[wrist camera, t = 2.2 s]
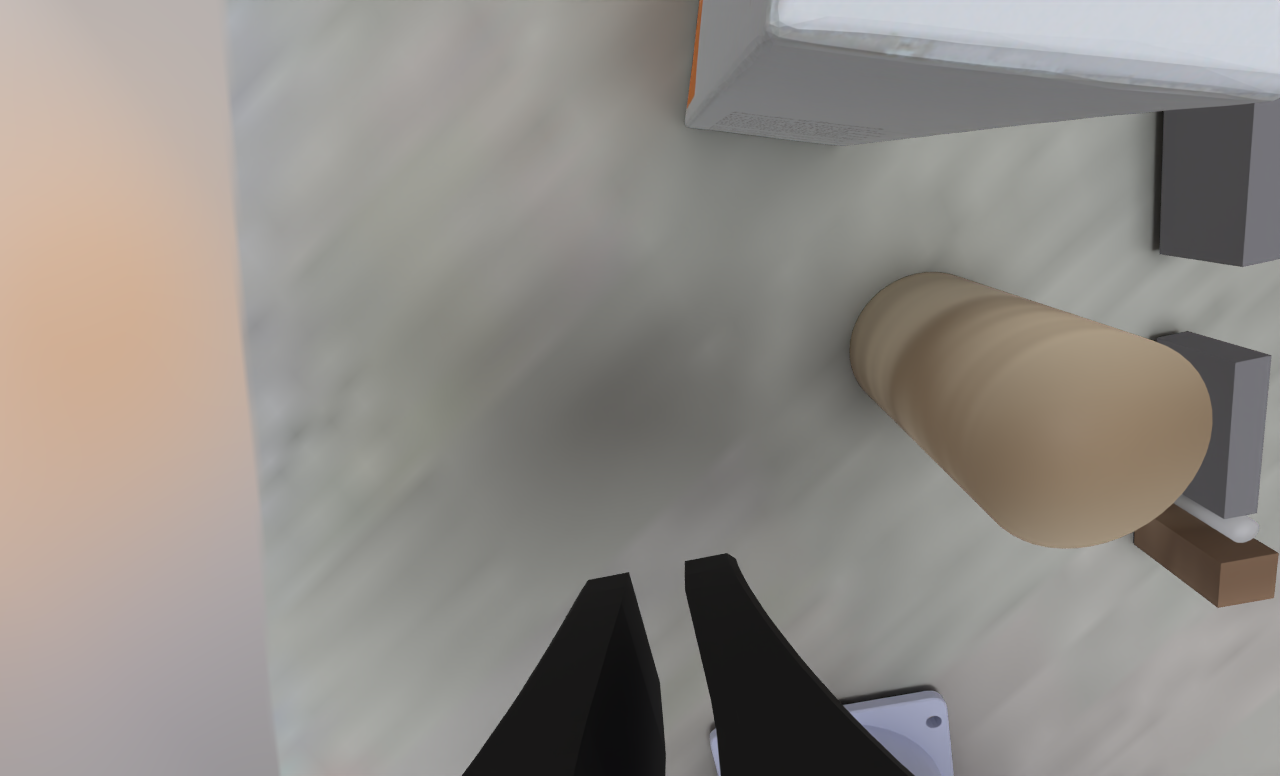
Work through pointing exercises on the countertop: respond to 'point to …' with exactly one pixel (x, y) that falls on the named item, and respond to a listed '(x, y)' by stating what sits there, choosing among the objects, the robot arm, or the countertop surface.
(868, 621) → the countertop surface
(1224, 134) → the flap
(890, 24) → the skincare box
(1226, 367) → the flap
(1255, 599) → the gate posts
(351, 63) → the countertop surface
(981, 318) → the peg
